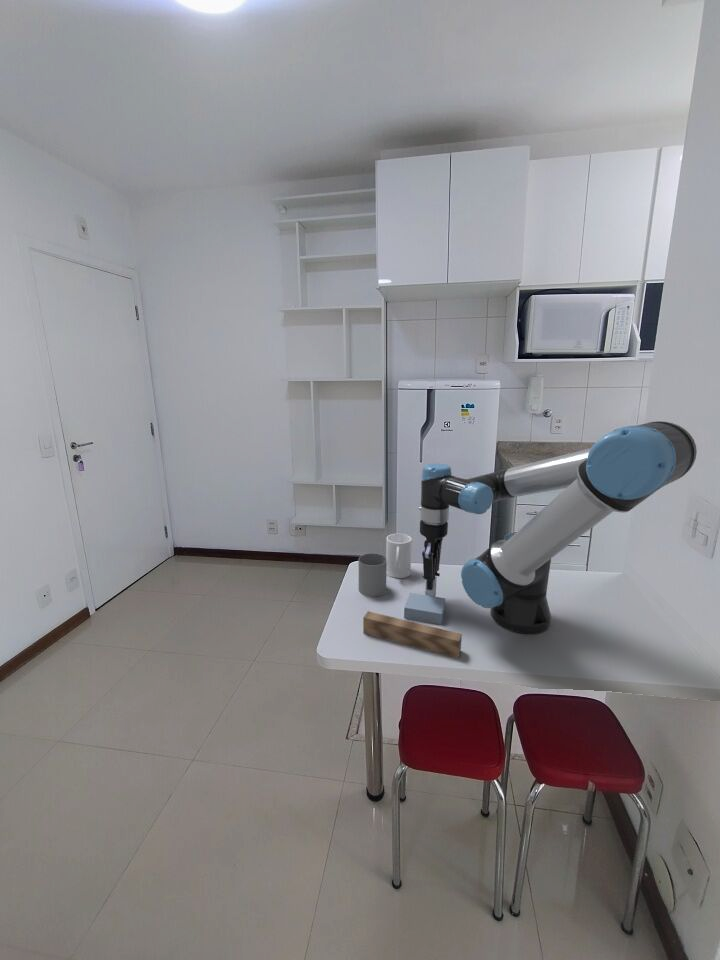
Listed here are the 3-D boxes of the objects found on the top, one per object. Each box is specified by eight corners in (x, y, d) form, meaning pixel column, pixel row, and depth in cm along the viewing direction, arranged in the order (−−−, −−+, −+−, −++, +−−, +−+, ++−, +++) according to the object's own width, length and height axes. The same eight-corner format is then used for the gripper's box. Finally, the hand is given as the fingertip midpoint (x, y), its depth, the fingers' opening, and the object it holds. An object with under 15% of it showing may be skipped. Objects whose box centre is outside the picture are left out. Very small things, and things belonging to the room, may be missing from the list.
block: (444, 609, 119) (445, 598, 118) (441, 625, 112) (441, 613, 111) (409, 603, 122) (410, 592, 121) (403, 618, 115) (404, 607, 114)
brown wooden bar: (460, 650, 101) (461, 633, 100) (458, 657, 99) (459, 641, 98) (367, 626, 111) (367, 611, 109) (363, 632, 108) (363, 617, 107)
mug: (408, 584, 131) (409, 549, 128) (381, 581, 133) (381, 546, 130) (412, 567, 142) (413, 534, 139) (387, 564, 144) (388, 532, 141)
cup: (356, 595, 126) (356, 564, 123) (360, 581, 133) (360, 552, 131) (384, 597, 124) (385, 566, 122) (387, 583, 132) (388, 554, 129)
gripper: (427, 511, 122) (424, 584, 129) (413, 526, 111) (410, 606, 117) (453, 514, 119) (448, 589, 126) (441, 530, 108) (437, 612, 114)
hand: (430, 597), depth 121 cm, fingers closed
